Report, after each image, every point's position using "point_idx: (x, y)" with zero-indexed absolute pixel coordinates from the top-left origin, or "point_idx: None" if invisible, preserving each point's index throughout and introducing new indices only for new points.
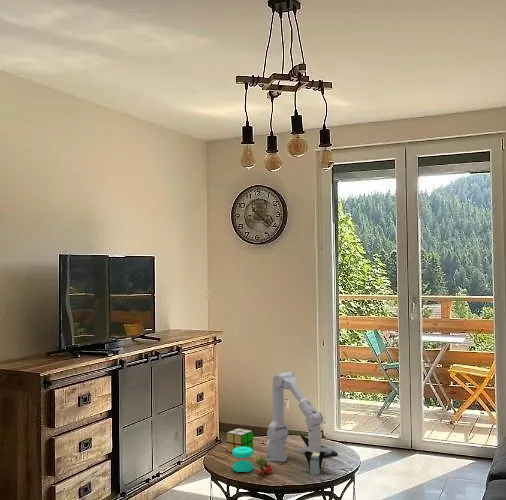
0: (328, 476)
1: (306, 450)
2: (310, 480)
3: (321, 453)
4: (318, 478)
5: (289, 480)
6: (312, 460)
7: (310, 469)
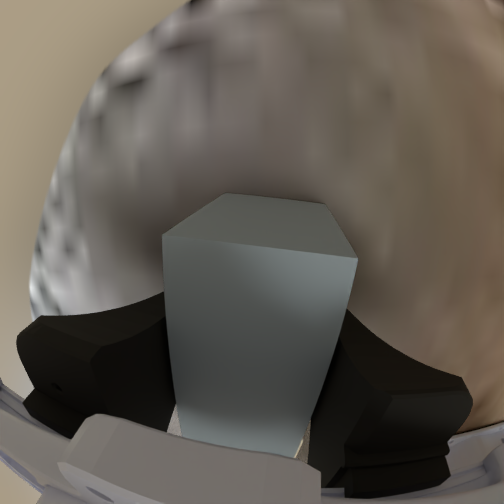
0: (130, 152)
1: (455, 500)
2: (316, 23)
3: (79, 415)
4: (229, 79)
5: (496, 63)
6: (297, 310)
7: (328, 215)
